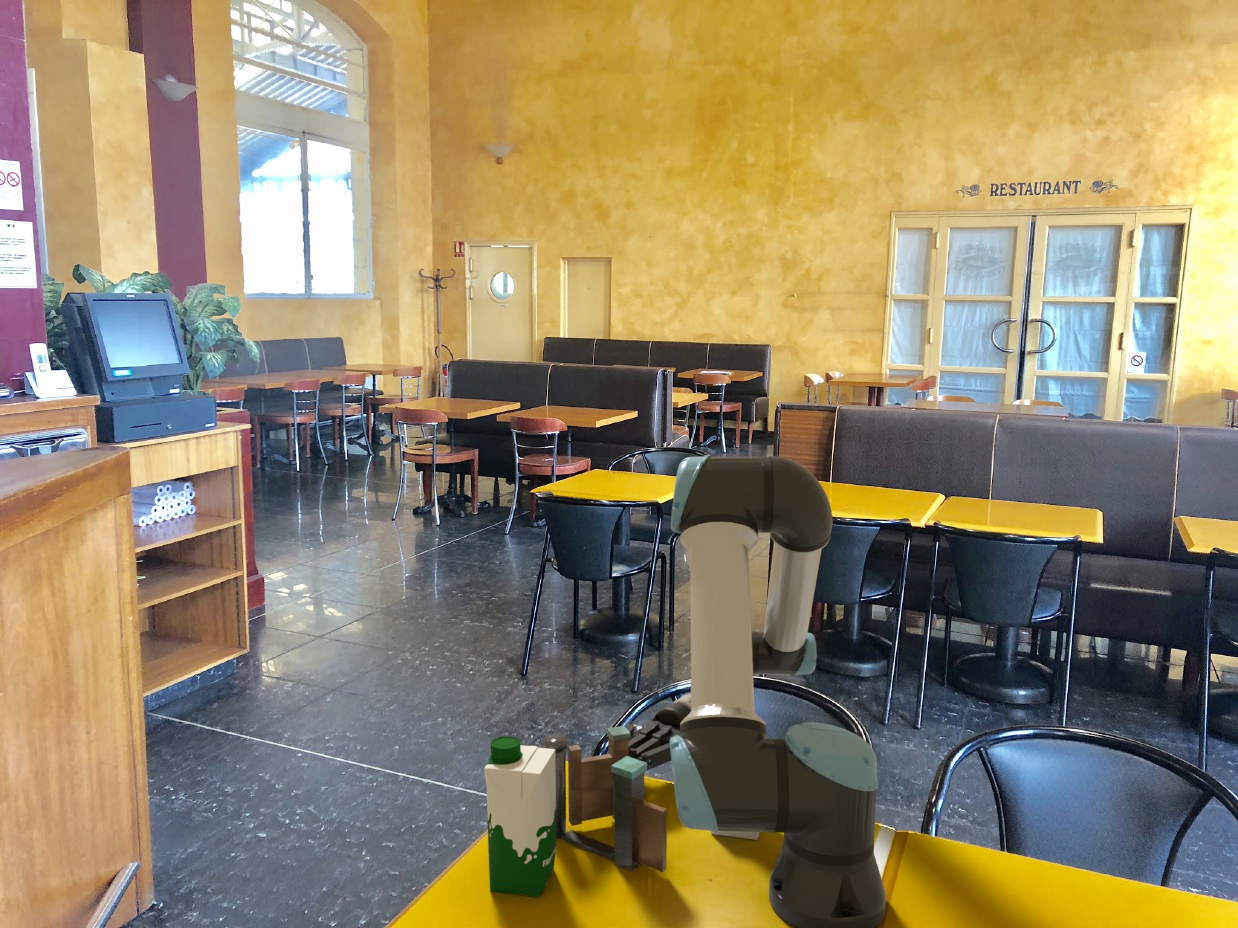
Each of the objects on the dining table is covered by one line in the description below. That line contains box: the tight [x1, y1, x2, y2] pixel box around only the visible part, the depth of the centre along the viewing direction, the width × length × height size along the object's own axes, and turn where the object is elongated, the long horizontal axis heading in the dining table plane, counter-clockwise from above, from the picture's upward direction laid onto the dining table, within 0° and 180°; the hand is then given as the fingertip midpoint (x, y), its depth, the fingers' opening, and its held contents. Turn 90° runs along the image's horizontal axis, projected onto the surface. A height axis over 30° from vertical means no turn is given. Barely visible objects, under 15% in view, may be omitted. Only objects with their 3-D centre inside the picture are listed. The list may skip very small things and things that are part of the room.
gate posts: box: [542, 733, 668, 873], centre depth 136 cm, size 21×4×15 cm, turn 54°
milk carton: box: [483, 735, 557, 898], centre depth 129 cm, size 9×9×20 cm
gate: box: [567, 725, 630, 827], centre depth 143 cm, size 9×3×14 cm, turn 110°
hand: (599, 775), depth 145 cm, fingers closed
